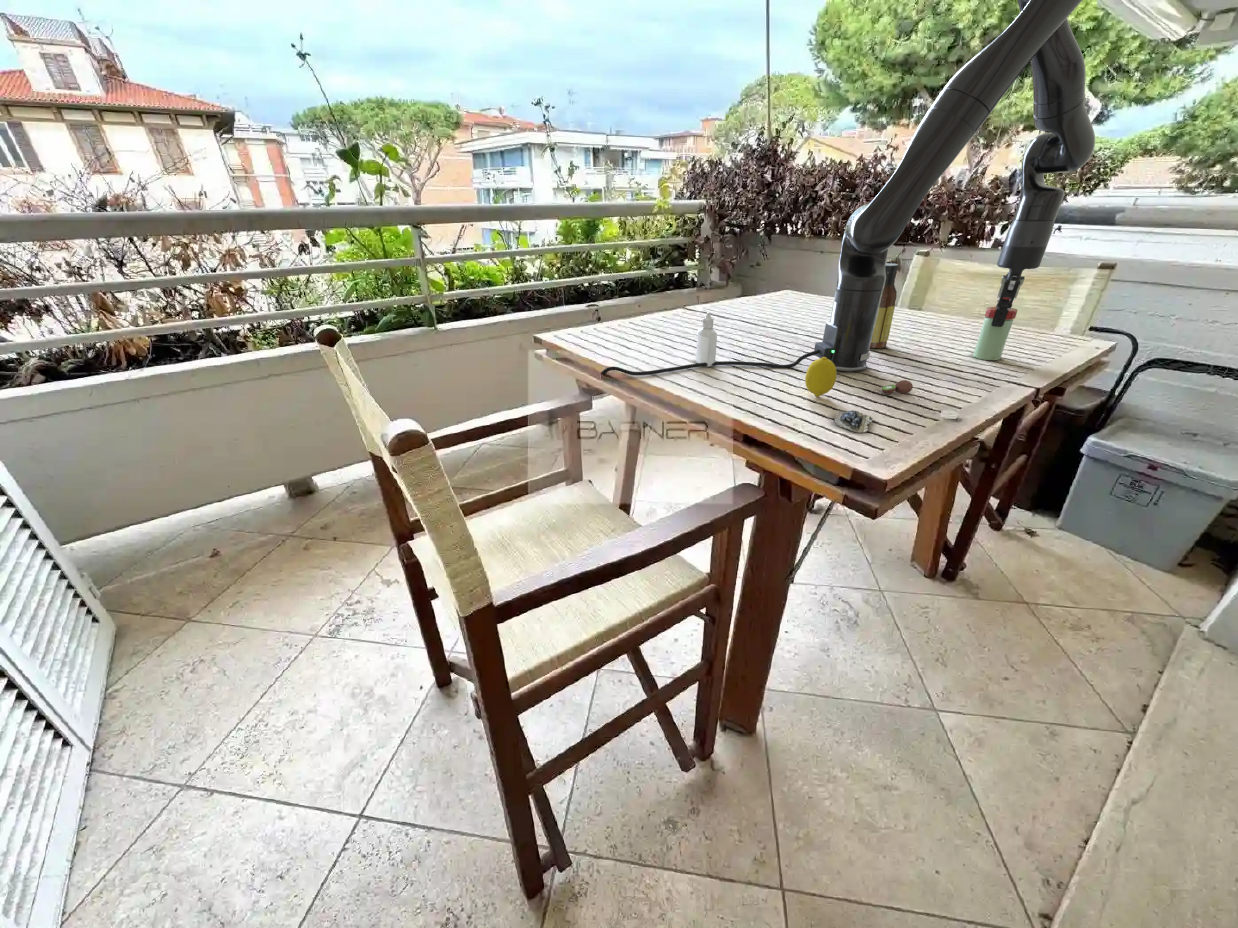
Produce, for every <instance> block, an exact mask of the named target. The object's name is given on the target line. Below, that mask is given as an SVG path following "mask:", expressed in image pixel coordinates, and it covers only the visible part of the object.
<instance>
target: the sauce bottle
mask: <svg viewBox="0 0 1238 928" xmlns="http://www.w3.org/2000/svg"><path fill="white" fill-rule="evenodd" d="M898 270H899V264H898V263H888V262H887V263H886V265H885V271H886V280H885V285H884V289H883V294H882V298H881V302H880V306H879V311H878V315H877V319H876V323H875V328H874V332H873V336H872V341H871V345H870V349H883V348H886V346H887V345H888V344H887V343H888V340H889V337H890V332H891V326H892V323H893V318H894V313H895V308H896V300H897V294H898V293H897V289H896V286H895V282H896V281H895V279H896V275H897V271H898Z"/></svg>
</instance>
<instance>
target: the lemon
mask: <svg viewBox="0 0 1238 928" xmlns="http://www.w3.org/2000/svg"><path fill="white" fill-rule="evenodd" d="M837 373H838V372H837V370H836V367H835V365H834V363H833V362H832V361H830V360H829V359H827V358H826V357H822V358H821V359H819V358H818V359H815V360H814V361H812V362H811V363H810V364H809V366H808V368H807V370H806V373H805V377H804V378H805V379H804V381H805V383H804V384H805V387H806V389H807V390H808V391H809V392H810V393H811V394H813V395H814V396H815V397H816V398H819V397H820V396H822V395H826V394H828V393H829V392H830V391H831V390H832V389H833V388H834V386H835V384H836V381H837Z"/></svg>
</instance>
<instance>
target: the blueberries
mask: <svg viewBox="0 0 1238 928" xmlns="http://www.w3.org/2000/svg"><path fill="white" fill-rule="evenodd" d="M833 420H834V422H835V426H836V425H837V426H838V427H840V428H844V429H846V430H849V431H850V432H854V433H858V434H860V433H866V432H868V430H869V426H868V425H871V422H873V417H872V416H870V415H868V414H863V412H860V411H858V410H853V409H852V410H847V411H845V410H838V412H837V413H836V414H835V416H834V419H833Z"/></svg>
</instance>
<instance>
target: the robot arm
mask: <svg viewBox="0 0 1238 928" xmlns="http://www.w3.org/2000/svg"><path fill="white" fill-rule="evenodd" d="M1082 2H1083V0H1017V4H1018V5H1017V6H1018V9H1019V12H1020V13H1019V14H1018V15H1017V17H1016V18H1015V19H1014V20H1013V21H1012V22H1011V23H1010V25H1008V26H1007V27H1006V28H1005V29H1004V30H1003V31H1002V33H1000V34H999V35H998V36H997V37H996V38H995V39H993V40H992V42H990V43H989V44H987V45H986V46H985V47H984V48H982V50H980V51H979V52H978V53H977V54H975V56H973V57H972V58H971V59H970V60H968V61H967V62H966V64H964V65H963V66H962V67H961V68H960V69H959V70H958V71H957V72H956V73H955V74H954V75H953V76H952V77H951V78H950V79H949V81H948V82H947V83H946V84H945V86H944V87H943V88H942V90H941V91H940V92H939V94H938V95H937V97H935V99H934V101H933V102H932V103H931V106H929V108H928V110H927V111H926V113H925V114H924V116H923V117H922V119H921V121H920V122H919V124H918V126H917V127H916V129H915V131H914V132H913V135H912V137H911V139H910V141H909V144H908V145H907V148H906V150H905V152H904V154H903V157H902V159H901V161H900V162H899V164H898V166H897V167H896V169H895V171H894V172H893V174H892V175H891V176H890V178H889V179H888V181H886V183H885V184H884V186H883V187H882V188H881V189H880V191H879V192H878V194H877V195H876V196H875V197H874V198H873V199H872V200H871V201H870V203H869V202H868V203H866V204H863V205H861V206H860V207H858V208H856V209H855V211H853V212H852V213H851V215H850V216H849V217H848V219H847V221H846V223H845V227H844V232H843V237H842V243H841V249H840V254H839V260H838V267H837V282H836V288H835V293H834V298H833V304H832V309H831V313H830V320H829V321H826V322H825V325H824V331H823V337H822V341H820V342H819V341H818V342H817V341H816V342H815V343H814V349H813V351H810V352H807V353H805V354H802V355H801V356H799V357H798V358H797V359H796V360H795V361H794V362H792V363H788V364H776V363H769V362H755V361H742V360H741V361H738V360H737V361H736V360H723V361H722V360H721V361H715V362H714V363H713V364H712V365H713V366H712V367H714V366H748V367H766V368H771V369H791V368H794V367H796V366H798V365H799V364H800V363H801V362H802V361H803V360H805V359H807V358H810V357H812V356H816V357H817V358H818V359H821V358H822V357H826V358H827V359H829V360H830V361H832V362H833V363H834V365H835V367H836V371H838V372H848V373H849V372H850V373H851V372H860V371H864V370H865V369H866V368H867V361H868V360H869V358H870V354H871V352H870V349H871V348H870V345H871V341H872V336H873V332H874V328H875V323H876V319H877V315H878V311H879V306H880V302H881V298H882V294H883V289H884V285H885V280H886V271H885V265H886V262H887V257H888V253H889V249H890V248H891V247H892V246H893V245H894V244H895V243H896V242H897V241H898V239H899V238H900V236H901V235H902V233H903V232H904V230H905V228H906V227H907V225H908V223H909V222H910V220H911V219H912V217H913V216H914V215H915V213H916V211H917V209H918V208H919V207H920V206H921V205H920V204H921V203H922V202H923V201H924V199H925V197H926V196H927V194H928V193H929V192H930V190H931V189H932V188H933V186H934V185H935V184H936V182H937V181H938V180H939V179H940V178H941V177H942V175H943V174H945V172H946V171H947V170H948V168H949V167H950V166H951V165H952V163H953V162H954V161H955V159H956V158H957V157H958V156H959V154H960V153H961V152H962V151H963V150H964V149H965V147H966V146H967V145H968V143H969V142H970V141H971V140H972V139H973V137H974V136H975V135H976V134H977V132H978V131H979V130H980V128H981V126H982V125H983V124H984V123H985V122H986V120H987V119H988V118H989V116H990V115H991V114H992V112H993V111H994V109H995V108H996V106H997V105H998V104H999V102H1000V101H1001V99H1002V98H1003V97H1004V95H1005V94H1006V93H1007V92H1008V90H1009V89H1010V88H1011V87H1012V85H1013V84H1014V83H1015V82H1016V80H1017V79H1018V78H1019V77H1020V75H1021V74H1022V73H1023V71H1024V70H1025V69H1026V68H1027V66H1028V65H1029V64H1030V67H1031V74H1032V88H1033V89H1032V90H1033V92H1032V93H1033V96H1032V98H1033V101H1032V102H1033V103H1032V105H1033V125H1034V127H1035V129H1036V130H1038V131H1039V132H1044V133H1042V134H1041V133H1040V134H1039V135H1038V136H1036V137H1034V138H1033V140H1031V141H1030V143H1029V144H1028V146H1027V147H1026V149H1025V151H1024V153H1023V156H1022V162H1021V185H1020V195H1019V201H1018V204H1017V207H1016V210H1015V213H1014V216H1013V218H1012V219H1013V220H1012V221H1011V223H1010V226H1009V228H1008V230H1007V233H1006V236H1005V239H1004V241H1003V244H1002V248H1001V251H1000V253H999V254H1000V255H999V257H998V260H997V263H996V266H997V267H999V268H1002V269H1008V272H1007V274H1003V275H1002V278H1001V280H1000V284H999V285H1000V287H999V290H998V294H997V301H996V302H997V303H996V306H995V307H997V308H996V312H995V315H994V318H993V321H992V324H991V325H992V326H995V327H1002V326H1003V325H1004V322H1005V319H1006V316H1007V313H1008V311H1009V310H1010V308H1013V302H1014V301H1015V300H1016V299H1017V297H1018V295H1019V293H1020V289H1021V288H1022V286H1023V284H1024V283H1025V282H1024V281H1025V276H1024V275H1022V274H1023V272H1024V271H1025V270H1036V269H1038V268H1040V266H1041V263H1042V260H1043V258H1044V255H1045V253H1046V250H1047V247H1048V244H1049V242H1050V239H1051V237H1052V234H1053V230H1054V225H1055V222H1056V219H1057V216H1058V214H1059V213H1058V212H1059V210H1060V208H1061V205H1062V203H1063V199H1064V196H1065V190H1064V189H1062V188H1061V187H1057V186H1052V185H1048V184H1046V182H1045V181H1046V180H1045V174H1065V173H1066V174H1067V173H1072V172H1076V171H1078V170H1079V169H1080V168H1083V166H1085V165H1086V164H1087V162H1088V161H1089V160H1090V158H1091V157H1092V155H1093V153H1094V150H1095V146H1096V133H1095V130H1094V127H1093V125H1092V122H1091V119H1090V116H1089V113H1088V110H1087V108H1086V104H1085V99H1086V97H1085V95H1086V80H1087V79H1086V78H1087V76H1086V74H1087V72H1086V63H1085V59H1084V55H1083V53H1082V50H1081V48H1080V45H1079V44H1078V41H1077V39H1076V37H1075V35H1074V33H1073V31H1072V28H1071V25H1070V22H1069V19H1068V18H1069V16H1070V15H1072V13H1073V12H1074V11H1075V10H1076V8H1077V7H1078V6H1079V5H1080V4H1081V3H1082ZM707 365H708V364H707V363H697V362H696V363H690V364H685V365H683V364H682V365H678V366H673V367H665V368H660V369H653V370H647V371H646V370H644V371H633V370H629V369H625V368H622V367H619V366H608V367H606V368H604V369H603V370H601V372H600V374H602V375H605V374H607V373H608V372H611V371H616V372H620V373H622V374H625V375H629V376H637V377H638V376H639V377H640V376H649V375H650V376H651V375H658V374H662V373H670V372H676V371H681V370H688V369H694V368H702V367H703V368H704V367H706V366H707Z"/></svg>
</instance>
